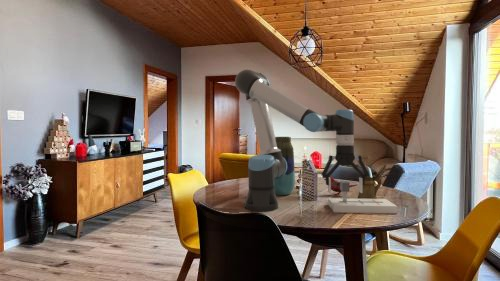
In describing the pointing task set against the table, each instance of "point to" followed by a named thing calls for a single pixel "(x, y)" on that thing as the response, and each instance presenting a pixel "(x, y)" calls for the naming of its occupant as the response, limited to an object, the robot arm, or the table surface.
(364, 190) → the brown watering can
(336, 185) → the decorative bird figurine
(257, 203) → the robot arm
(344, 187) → the fader
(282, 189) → the vase
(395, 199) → the table surface
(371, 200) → the board
